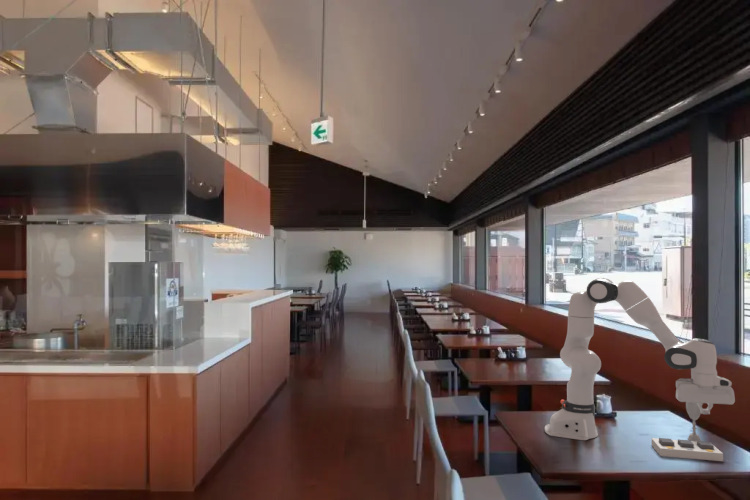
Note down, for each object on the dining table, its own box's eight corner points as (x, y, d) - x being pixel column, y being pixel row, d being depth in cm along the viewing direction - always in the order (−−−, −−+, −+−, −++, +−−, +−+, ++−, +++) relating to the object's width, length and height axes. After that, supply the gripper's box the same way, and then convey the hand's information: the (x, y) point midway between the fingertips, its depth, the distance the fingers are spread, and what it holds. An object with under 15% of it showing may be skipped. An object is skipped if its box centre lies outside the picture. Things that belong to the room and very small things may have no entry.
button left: (662, 447, 202) (662, 441, 202) (659, 444, 206) (658, 437, 206) (674, 448, 201) (674, 442, 201) (670, 444, 205) (670, 438, 205)
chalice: (706, 443, 213) (706, 400, 213) (689, 442, 214) (688, 399, 215) (699, 437, 220) (698, 396, 220) (682, 436, 221) (681, 395, 222)
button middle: (681, 449, 200) (681, 443, 200) (677, 445, 205) (677, 439, 205) (693, 450, 199) (693, 444, 199) (689, 446, 203) (689, 440, 203)
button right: (701, 451, 198) (701, 444, 199) (697, 447, 203) (697, 440, 203) (713, 452, 197) (713, 445, 197) (709, 448, 202) (709, 441, 202)
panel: (660, 455, 199) (660, 447, 199) (651, 445, 210) (651, 437, 210) (723, 461, 193) (723, 452, 193) (710, 450, 205) (710, 442, 205)
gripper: (678, 379, 200) (678, 414, 200) (736, 382, 195) (737, 417, 195) (672, 376, 206) (673, 409, 206) (729, 378, 201) (730, 413, 201)
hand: (705, 413), depth 200 cm, fingers closed
